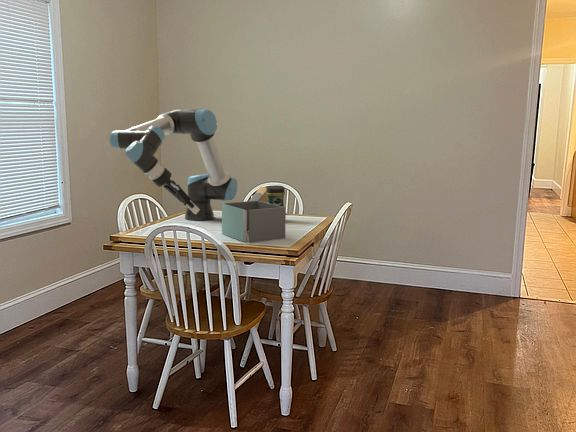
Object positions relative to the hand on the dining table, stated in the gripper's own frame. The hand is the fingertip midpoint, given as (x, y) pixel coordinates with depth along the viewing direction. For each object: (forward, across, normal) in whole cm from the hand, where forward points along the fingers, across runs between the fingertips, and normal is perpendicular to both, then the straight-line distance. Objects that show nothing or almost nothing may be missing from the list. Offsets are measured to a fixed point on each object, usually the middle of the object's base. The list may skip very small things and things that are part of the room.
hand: (197, 211), depth 233 cm
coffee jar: (+49, -28, +31) cm, 65 cm away
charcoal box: (+29, +1, +10) cm, 30 cm away
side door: (+21, +1, +3) cm, 21 cm away
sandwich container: (+50, -53, +31) cm, 79 cm away
